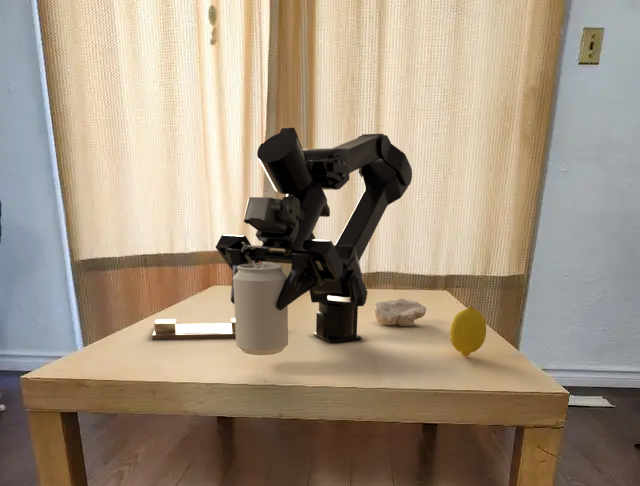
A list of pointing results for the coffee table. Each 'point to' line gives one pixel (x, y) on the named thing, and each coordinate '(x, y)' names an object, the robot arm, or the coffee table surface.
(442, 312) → the coffee table surface
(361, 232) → the robot arm
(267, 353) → the can
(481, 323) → the lemon
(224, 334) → the word board
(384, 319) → the whitish grey lumpy stone
